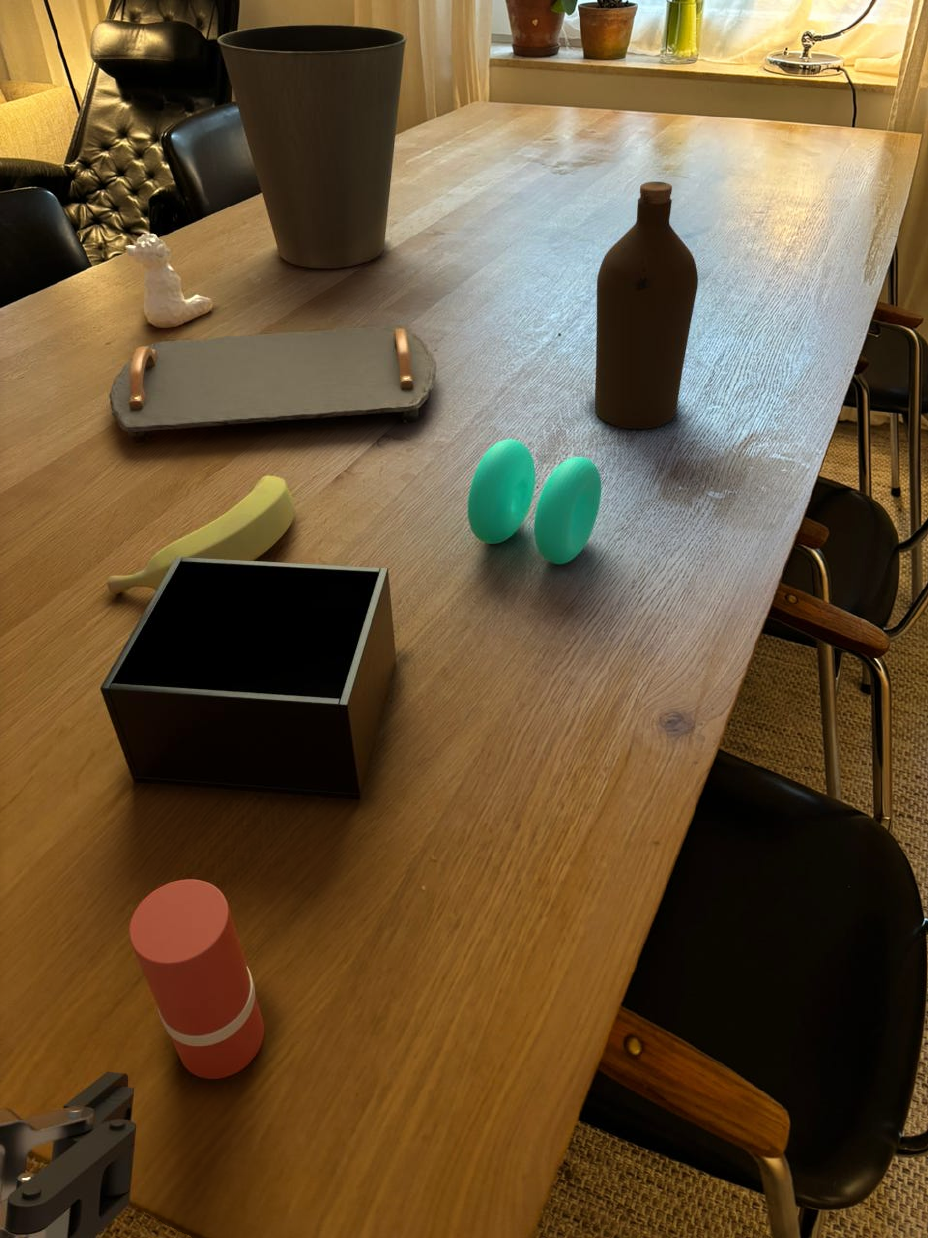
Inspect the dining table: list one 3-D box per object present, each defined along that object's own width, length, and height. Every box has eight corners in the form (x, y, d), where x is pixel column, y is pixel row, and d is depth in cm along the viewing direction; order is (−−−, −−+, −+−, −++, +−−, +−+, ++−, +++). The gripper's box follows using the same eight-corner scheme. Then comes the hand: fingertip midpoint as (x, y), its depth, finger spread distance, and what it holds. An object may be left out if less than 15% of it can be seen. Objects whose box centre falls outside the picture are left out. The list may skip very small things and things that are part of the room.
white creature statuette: (215, 308, 142) (199, 222, 134) (192, 333, 135) (173, 244, 128) (153, 305, 143) (133, 220, 135) (127, 330, 137) (105, 242, 129)
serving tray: (101, 454, 111) (86, 404, 107) (130, 363, 128) (119, 317, 124) (446, 427, 114) (444, 377, 110) (428, 342, 131) (426, 296, 127)
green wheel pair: (559, 588, 90) (563, 495, 84) (463, 558, 94) (460, 467, 88) (602, 532, 97) (609, 442, 90) (511, 506, 101) (511, 418, 94)
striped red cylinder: (163, 1076, 56) (110, 961, 49) (193, 992, 60) (148, 873, 53) (251, 1086, 56) (212, 971, 48) (276, 1000, 60) (243, 881, 52)
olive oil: (696, 424, 113) (728, 195, 97) (609, 439, 111) (627, 207, 95) (658, 384, 121) (682, 165, 105) (576, 396, 119) (587, 176, 103)
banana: (313, 484, 91) (107, 580, 85) (333, 537, 94) (134, 634, 87) (265, 456, 102) (79, 539, 96) (284, 503, 105) (104, 587, 98)
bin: (133, 782, 74) (99, 688, 67) (199, 646, 85) (175, 556, 79) (360, 800, 72) (347, 705, 66) (396, 659, 83) (388, 567, 77)
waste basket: (430, 231, 164) (420, 23, 145) (402, 278, 149) (388, 51, 130) (274, 226, 168) (244, 22, 149) (231, 270, 153) (193, 49, 134)
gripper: (-76, 1219, 22) (199, 1004, 38) (-643, 1145, 23) (-147, 969, 39) (-116, 1591, 21) (181, 1210, 37) (-697, 1488, 23) (-170, 1166, 39)
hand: (12, 1086), depth 38 cm, fingers open, 8 cm apart
